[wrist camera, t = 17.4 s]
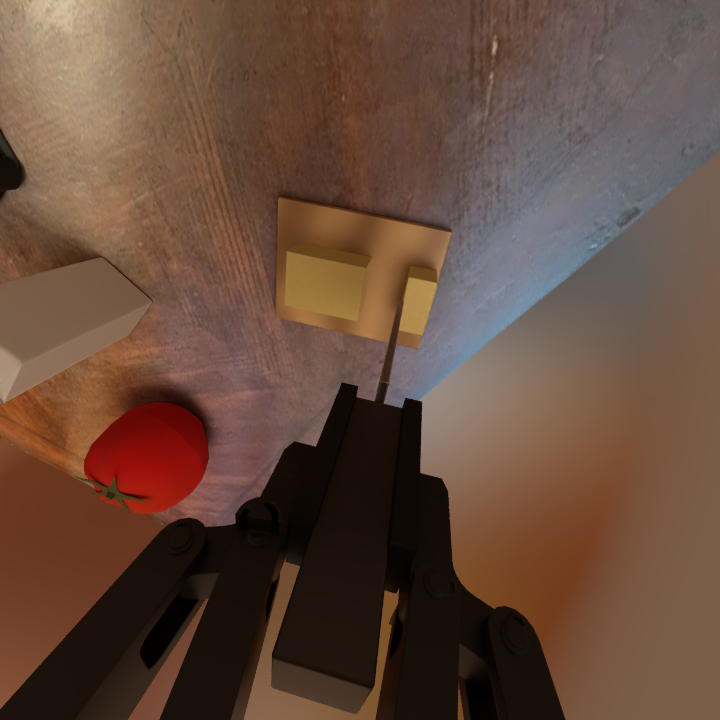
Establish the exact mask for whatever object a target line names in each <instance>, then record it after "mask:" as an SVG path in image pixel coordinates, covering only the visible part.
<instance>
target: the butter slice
mask: <svg viewBox="0 0 720 720" xmlns="http://www.w3.org/2000/svg"><path fill="white" fill-rule="evenodd" d="M437 285H438V279H437V271H436V270H432V269H427V268H422V267H417V266H412V265H411V266H410V269H409V274H408V278H407V282H406V286H405V290H404V295H403V299H402V301H404V305H403V310H402V316H401V321H400V326H399V330H400V331H404V332H409V333H413V334H418V335H423V333H424V330H425V326H426V323H427V319H428V316H429V313H430V309H431V306H432V302H433V299H434V296H435V292H436V289H437Z"/></svg>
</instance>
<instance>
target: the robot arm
mask: <svg viewBox="0 0 720 720" xmlns="http://www.w3.org/2000/svg"><path fill="white" fill-rule="evenodd" d="M357 390H358V386H355V385H351V384H346V383H342V384H341V386H340V389H339V391H338V394H337V396H336V399H335V401H334V404H333V406H332V409H331V411H330V413H329V416H328V418H327V421H326V423H325V426H324V428H323V431H322V433H321V436H320V438H319V441H318V443H317V445H316V447H315V446H311V445H307V444H303V443H299V442H295V441H294V442H293V443H292V444H291V445H290V446H288V447H287V448H286V449H285V450H284V452H283V454H282V455H281V457H280V459H279V462H278V463H277V465H276V467H275V469H274V472H273V473H272V475H271V477H270V479H269V481H268V483H267V485H266V487H265V489H264V490H263V492H262V494H261V496H260V497H257V498H254V499H251V500H248V501H247V502H246V503H244V504H243V505H242V506H241V507H240V508H239V510H238V511H237V513H236V514H235V517H236V523H235V524H233V525H227V526H215V527H204V524H202V523H201V522H200V521H199V520H197V519H192V518H184V519H179V520H177V521H174V522H172V523H170V524H169V525H167V526H166V527H165V528H164V529H163V530H162V531H160V532H159V534H158V535H157V536H156V537H155V538H154V539H153V540H152V541H151V542H150V544H149V545H148V546H147V547H146V548H145V549H144V550H143V551H142V553H141V554H140V555H139V556H138V557H137V558H136V559H135V560H134V561H133V563H132V564H131V565H130V566H129V567H128V568H127V569H126V570H125V572H123V574H122V575H121V576H120V577H119V578H118V579H117V580H116V581H115V582H114V584H113V585H112V586H111V587H110V588H109V589H108V590H107V591H106V592H105V594H104V595H103V596H102V597H101V598H100V599H99V600H98V601H97V602H96V604H95V605H94V606H93V607H92V608H91V609H90V610H89V611H88V613H87V614H86V615H85V616H84V617H83V618H82V619H81V620H80V621H79V622H78V624H77V625H76V626H75V627H74V628H73V629H72V630H71V631H70V632H69V634H68V635H67V636H66V637H65V638H64V639H63V640H62V641H61V642H60V644H59V645H58V646H57V647H56V648H55V649H54V650H53V651H52V652H51V654H50V655H49V656H48V657H47V658H46V659H45V660H44V661H43V662H42V664H41V665H40V666H39V667H38V668H37V669H36V670H35V671H34V672H33V674H32V675H31V676H30V677H29V678H28V679H27V680H26V681H25V682H24V684H23V685H22V686H21V687H20V688H19V689H18V690H17V691H16V692H15V693H14V695H13V696H12V697H11V698H10V699H9V700H8V701H7V702H6V703H5V705H4V706H3V707H2V708H1V709H0V720H128V718H129V717H130V715H131V714H132V712H133V710H134V709H135V707H136V706H137V704H138V703H139V701H140V700H141V698H142V697H143V695H144V693H145V692H146V690H147V689H148V687H149V686H150V684H151V682H152V681H153V679H154V678H155V676H156V675H157V673H158V671H159V670H160V669H161V667H162V666H163V664H164V662H165V661H166V659H167V658H168V656H169V655H170V653H171V652H172V650H173V649H174V647H175V646H176V644H177V642H178V641H179V639H180V638H181V636H182V634H183V633H184V632H185V630H186V629H187V627H188V625H189V624H190V622H191V621H192V619H193V618H194V616H195V615H196V613H197V611H198V610H199V608H200V607H201V605H202V604H203V602H204V601H205V599H206V598H207V599H208V598H209V600H208V602H207V605H206V607H205V610H204V612H203V614H202V617H201V619H200V622H199V624H198V627H197V629H196V632H195V634H194V637H193V639H192V641H191V644H190V646H189V649H188V651H187V654H186V656H185V658H184V661H183V663H182V666H181V668H180V671H179V673H178V676H177V678H176V680H175V683H174V686H173V688H172V690H171V693H170V695H169V698H168V700H167V703H166V705H165V707H164V710H163V712H162V715H161V717H160V720H244V716H245V712H246V708H247V704H248V700H249V697H250V692H251V688H252V685H253V681H254V677H255V673H256V669H257V665H258V662H259V658H260V653H261V650H262V646H263V642H264V638H265V634H266V631H267V627H268V623H269V619H270V615H271V611H272V607H273V603H274V599H275V596H276V592H277V588H278V584H279V579H280V571H281V569H282V566H283V563H284V560H285V558H286V562H288V563H291V564H295V565H298V566H301V563H302V560H303V557H304V554H305V550H306V547H307V544H308V541H309V538H310V535H311V532H312V529H313V527H314V525H315V522H316V518H317V515H318V512H319V509H320V506H321V503H322V500H323V497H324V494H325V490H326V487H327V484H328V481H329V478H330V475H331V472H332V469H333V466H334V462H335V459H336V456H337V453H338V450H339V447H340V444H341V441H342V438H343V434H344V431H345V428H346V425H347V422H348V419H349V416H350V413H351V410H352V406H353V403H354V400H355V398H356V395H357ZM402 409H403V415H402V425H401V434H400V443H399V453H398V462H397V472H396V481H395V490H394V500H393V509H392V518H391V528H390V537H389V546H388V548H389V551H388V561H387V570H386V580H385V589H384V590H385V591H389V592H392V593H397V591H398V589H399V598H398V605H397V607H396V609H395V611H394V613H393V615H392V617H391V619H390V622H389V624H391V625H392V628H391V634H390V639H389V645H388V651H387V657H386V662H385V668H384V674H383V680H382V685H381V691H380V696H379V703H378V708H377V714H376V720H458V719H457V718H458V682H459V689H460V695H461V702H462V708H463V716H464V720H565V717H564V714H563V711H562V708H561V705H560V702H559V699H558V696H557V693H556V690H555V687H554V684H553V681H552V678H551V675H550V672H549V669H548V666H547V662H546V659H545V656H544V653H543V650H542V647H541V644H540V641H539V639H538V637H537V635H536V633H535V630H534V628H533V627H532V626H531V624H530V623H529V622H528V620H527V619H526V618H525V617H524V616H523V615H522V614H520V613H519V612H518V611H516V610H515V609H512V608H509V607H506V606H503V607H497V608H496V609H493V608H492V607H490V606H488V605H487V604H486V603H484V602H483V601H481V600H480V599H478V598H477V597H475V596H474V595H473V594H471V593H470V592H469V591H468V590H466V588H465V587H464V586H463V585H462V584H461V582H460V581H459V579H458V577H457V576H456V573H455V571H454V568H453V562H452V548H451V532H450V519H449V517H450V516H449V515H450V514H449V498H448V491H447V488H446V486H445V484H444V482H443V480H442V479H441V478H438V477H433V476H429V475H426V474H422V473H420V456H421V455H420V454H421V421H422V402H420V401H417V400H413V399H408V398H405V401H404V404H403V408H402Z"/></svg>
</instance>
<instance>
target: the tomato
mask: <svg viewBox="0 0 720 720" xmlns="http://www.w3.org/2000/svg"><path fill="white" fill-rule="evenodd" d="M208 460H209V451H208V442H207V438H206V435H205V432H204V428H203V425H202V422H201V421H200V420H199V419H198V418H197V417H196V416H194V415H193V414H192V413H191V412H190V411H188V410H186V409H184V408H182V407H179V406H177V405H175V404H172V403H166V402H162V403H149V404H145V405H142V406H138V407H136V408H134V409H131V410H129V411H127V412H126V413H125V414H124V415H122V416H121V417H120V418H119V419H117V420H116V421H115V422H113V423H112V424H111V425H110V426H109V427H108V428H107V429H106V430H105V431H104V432H103V433H102V434H101V435H100V437H99V438H98V439H97V440H96V441H95V442H94V443H93V444H92V445H91V447H90V449H89V451H88V453H87V456H86V458H85V460H84V472H85V475H86V476H87V478H88V479H89V480H87V479H83V478H79V477H76V476H75V477H76V478H78V479H81V480H84V481H87V482H90V483H92V484H93V485H94V487H95V491H96V493H93V494H97V496H98V497H99V498H100V499H101V500H102V501H104V502H107V503H110V504H113V505H115V506H123V507H124V508H125V509H126V510H127V511H128V512H130V511H132V512H135V513H137V514H146V513H156V512H162V511H164V510H166V509H168V508H170V507H172V506H174V505H176V504H177V503H179V502H180V501H181V500H183V499H184V498H185V497H187V496H188V495H189V494H191V493H192V492H193V490H194V489H195V488H196V487H197V485H198V484H199V483H200V481H201V480H202V478H203V476H204V473H205V470H206V467H207V463H208ZM73 476H74V475H73ZM128 509H129V510H130V511H129V510H128Z"/></svg>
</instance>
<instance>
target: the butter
mask: <svg viewBox="0 0 720 720" xmlns="http://www.w3.org/2000/svg"><path fill="white" fill-rule="evenodd" d="M372 259H373V257H368V256H363V255H359V254H354V253H349V252H344V251H340V250H335V249H330V248H325V247H321V246H316V245H311V244H306V243H301V244H299V245H297V246H295V247H293V248H292V249H290V250H288V251H287V257H286V283H285V305H286V306H291V307H295V308H300V309H304V310H308V311H313V312H317V313H322V314H326V315H331V316H335V317H340V318H344V319H348V320H353V321H357V320H358V318H359V316H360V314H361V312H362V310H363V307H364V304H365V298H366V293H367V287H368V282H369V276H370V271H371V265H372Z"/></svg>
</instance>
